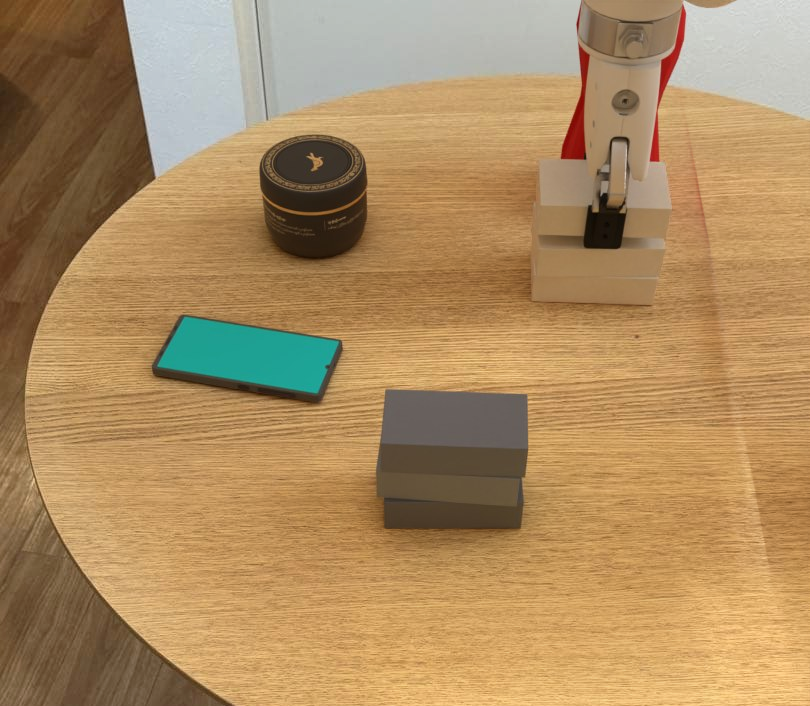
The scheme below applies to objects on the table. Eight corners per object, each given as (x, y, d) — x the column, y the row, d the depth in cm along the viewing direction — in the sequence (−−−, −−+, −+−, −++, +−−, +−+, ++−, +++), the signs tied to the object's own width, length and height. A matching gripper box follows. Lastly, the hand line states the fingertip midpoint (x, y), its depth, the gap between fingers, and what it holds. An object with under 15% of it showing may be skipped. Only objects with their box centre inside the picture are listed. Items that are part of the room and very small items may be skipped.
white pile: (648, 256, 109) (659, 201, 105) (655, 307, 104) (666, 252, 100) (528, 252, 110) (533, 197, 105) (529, 303, 105) (534, 248, 100)
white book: (659, 191, 103) (665, 161, 101) (666, 238, 99) (672, 208, 97) (536, 187, 104) (538, 158, 101) (537, 234, 99) (540, 205, 97)
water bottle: (643, 161, 119) (689, -95, 100) (656, 225, 112) (708, -38, 93) (554, 160, 119) (582, -96, 100) (561, 224, 112) (593, -39, 93)
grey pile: (520, 474, 91) (529, 391, 84) (520, 534, 88) (530, 451, 81) (382, 469, 92) (380, 385, 85) (377, 528, 88) (374, 445, 81)
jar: (333, 190, 116) (329, 120, 110) (389, 239, 111) (388, 169, 105) (247, 223, 113) (238, 153, 107) (299, 276, 107) (293, 206, 101)
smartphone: (180, 313, 103) (343, 339, 100) (182, 321, 103) (343, 347, 101) (149, 368, 98) (319, 397, 96) (151, 375, 99) (319, 404, 96)
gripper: (689, 83, 83) (649, 283, 96) (668, -29, 94) (634, 165, 107) (584, 80, 83) (559, 280, 97) (575, -31, 94) (553, 162, 108)
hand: (599, 218), depth 102 cm, fingers closed on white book, 7 cm apart
